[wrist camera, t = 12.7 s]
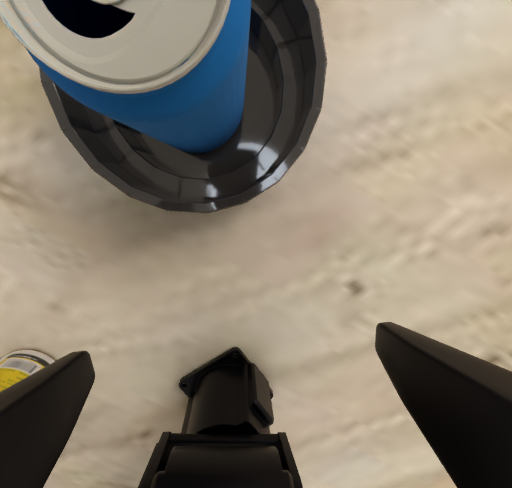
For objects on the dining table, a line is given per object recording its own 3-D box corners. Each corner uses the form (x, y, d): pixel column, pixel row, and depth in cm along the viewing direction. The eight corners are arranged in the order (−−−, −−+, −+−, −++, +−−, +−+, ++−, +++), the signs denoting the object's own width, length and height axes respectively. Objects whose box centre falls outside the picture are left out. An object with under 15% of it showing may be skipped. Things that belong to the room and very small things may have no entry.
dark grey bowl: (180, 238, 20) (161, 257, 15) (46, 59, 16) (-35, 10, 11) (336, 136, 19) (370, 122, 14) (229, -80, 15) (225, -201, 10)
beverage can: (125, 85, 16) (-144, -133, 5) (206, 25, 16) (122, -383, 4) (185, 172, 18) (91, 163, 6) (261, 120, 18) (306, 9, 6)
